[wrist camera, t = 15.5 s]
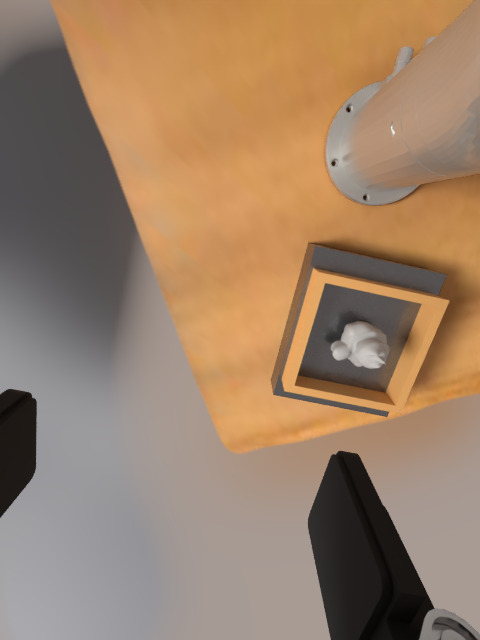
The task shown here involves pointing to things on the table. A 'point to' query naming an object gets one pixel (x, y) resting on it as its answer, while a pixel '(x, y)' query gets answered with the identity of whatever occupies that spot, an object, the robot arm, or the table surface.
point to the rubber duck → (362, 345)
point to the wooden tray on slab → (351, 306)
